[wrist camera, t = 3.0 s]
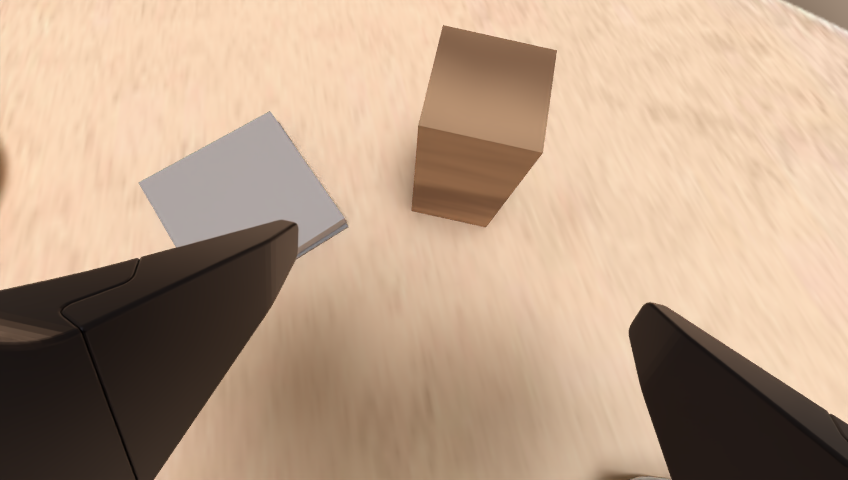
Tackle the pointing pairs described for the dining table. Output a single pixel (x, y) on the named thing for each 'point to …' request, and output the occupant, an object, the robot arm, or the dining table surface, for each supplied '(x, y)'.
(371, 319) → the dining table surface
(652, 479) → the ceramic mug
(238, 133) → the upper grey slab
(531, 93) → the walnut post
